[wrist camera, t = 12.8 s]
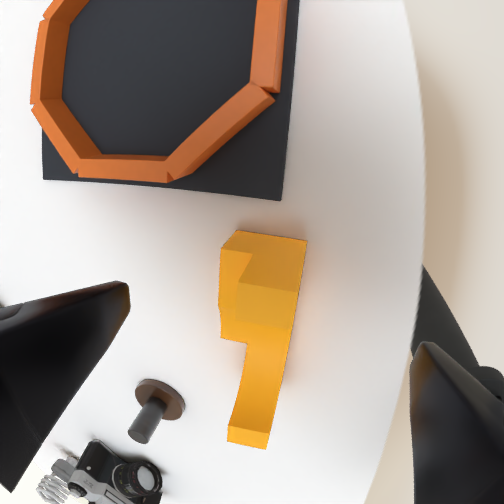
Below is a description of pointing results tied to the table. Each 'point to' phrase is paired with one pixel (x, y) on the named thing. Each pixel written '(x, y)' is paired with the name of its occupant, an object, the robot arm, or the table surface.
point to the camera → (114, 478)
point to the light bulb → (57, 480)
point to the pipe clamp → (259, 323)
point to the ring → (195, 146)
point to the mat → (174, 89)
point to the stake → (154, 408)
